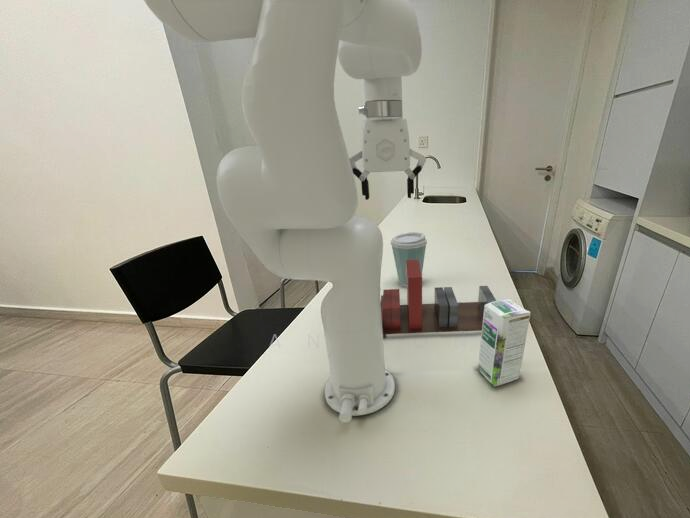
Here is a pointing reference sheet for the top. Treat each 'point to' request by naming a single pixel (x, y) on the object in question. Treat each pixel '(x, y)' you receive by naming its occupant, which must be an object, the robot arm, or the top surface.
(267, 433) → the top surface
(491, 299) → the book rack
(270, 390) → the top surface
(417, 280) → the red book
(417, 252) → the disposable coffee cup
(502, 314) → the syrup box
